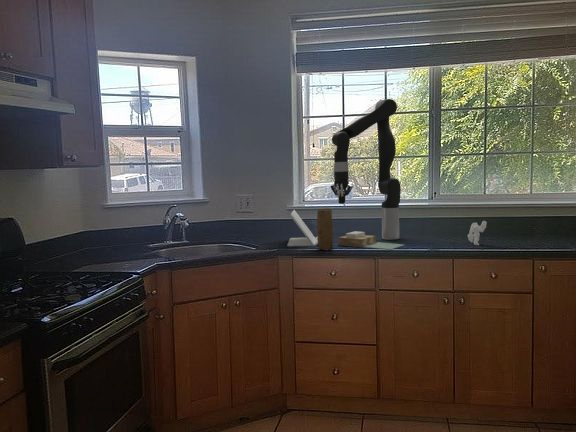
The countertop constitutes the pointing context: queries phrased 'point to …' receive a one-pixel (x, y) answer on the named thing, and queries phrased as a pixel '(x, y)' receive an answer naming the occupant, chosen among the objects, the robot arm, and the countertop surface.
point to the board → (357, 241)
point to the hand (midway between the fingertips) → (341, 203)
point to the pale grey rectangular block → (355, 234)
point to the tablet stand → (310, 237)
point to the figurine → (476, 232)
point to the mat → (384, 245)
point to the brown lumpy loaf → (324, 229)
